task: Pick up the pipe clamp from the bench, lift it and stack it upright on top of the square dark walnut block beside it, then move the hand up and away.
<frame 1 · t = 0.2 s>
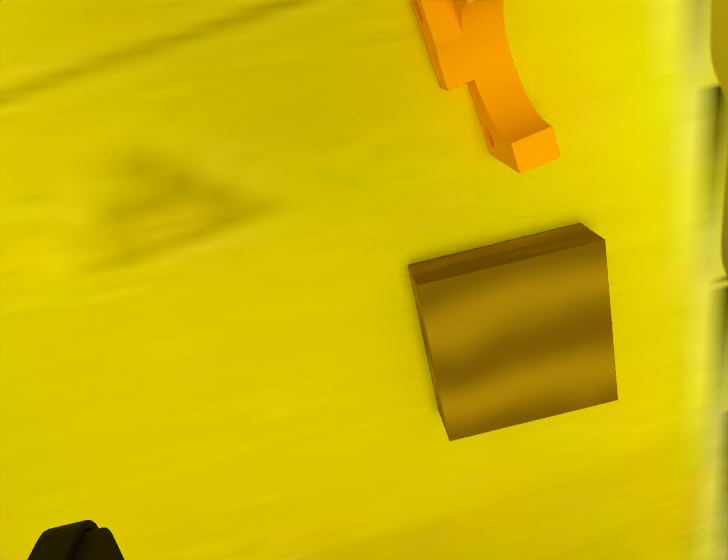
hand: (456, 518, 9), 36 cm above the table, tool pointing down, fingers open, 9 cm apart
walnut block: (506, 321, 48), on the table
pipe clamp: (467, 67, 42), on the table
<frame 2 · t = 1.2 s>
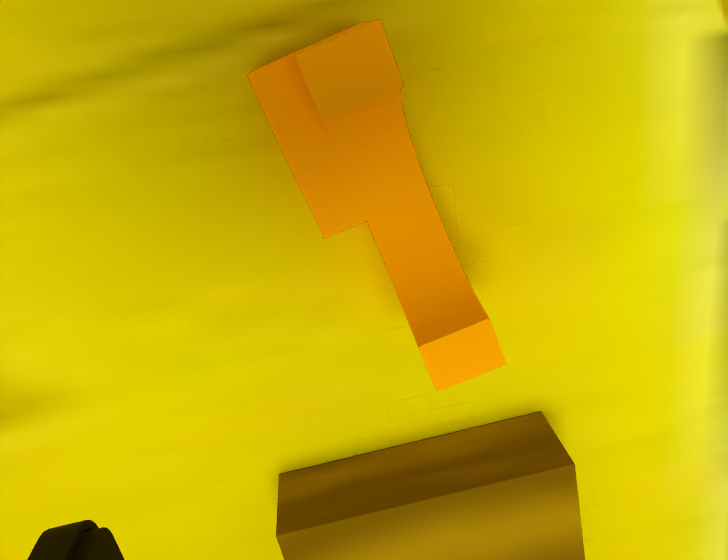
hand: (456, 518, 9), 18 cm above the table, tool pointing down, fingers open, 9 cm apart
walnut block: (433, 543, 33), on the table
pipe clamp: (365, 189, 26), on the table
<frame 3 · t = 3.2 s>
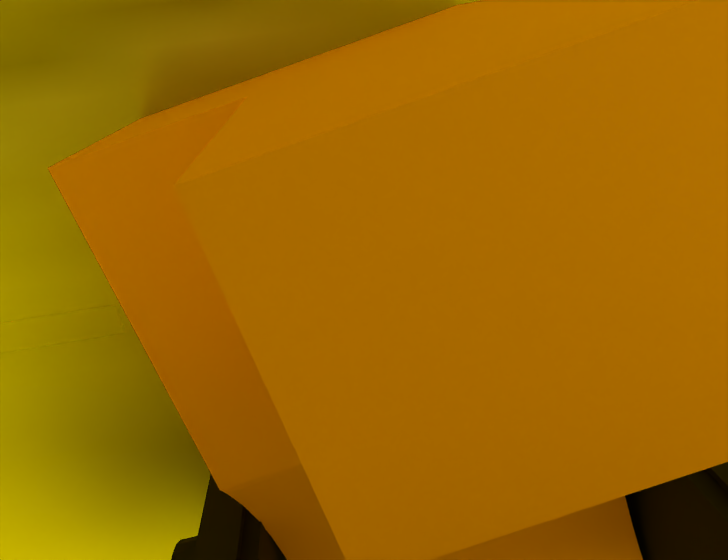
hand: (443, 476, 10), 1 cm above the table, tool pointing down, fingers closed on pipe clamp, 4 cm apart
pipe clamp: (424, 420, 11), on the table, touching gripper
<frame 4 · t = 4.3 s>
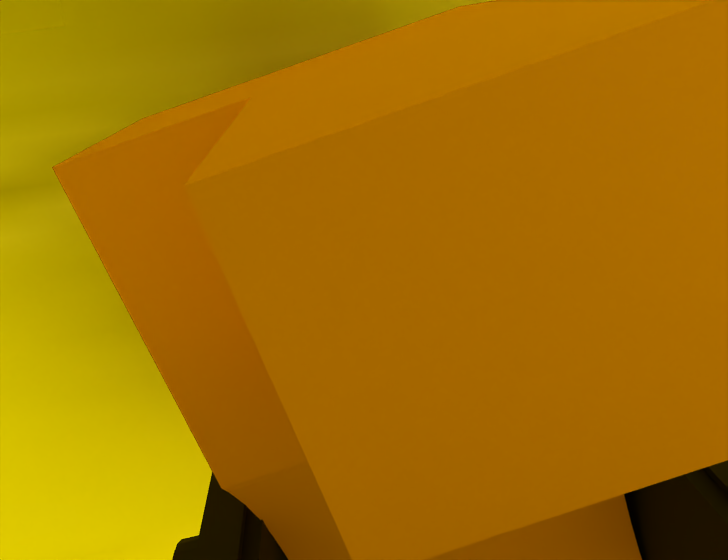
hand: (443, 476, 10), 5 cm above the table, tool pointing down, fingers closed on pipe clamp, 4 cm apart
pipe clamp: (424, 420, 11), point 4 cm above the table, touching gripper
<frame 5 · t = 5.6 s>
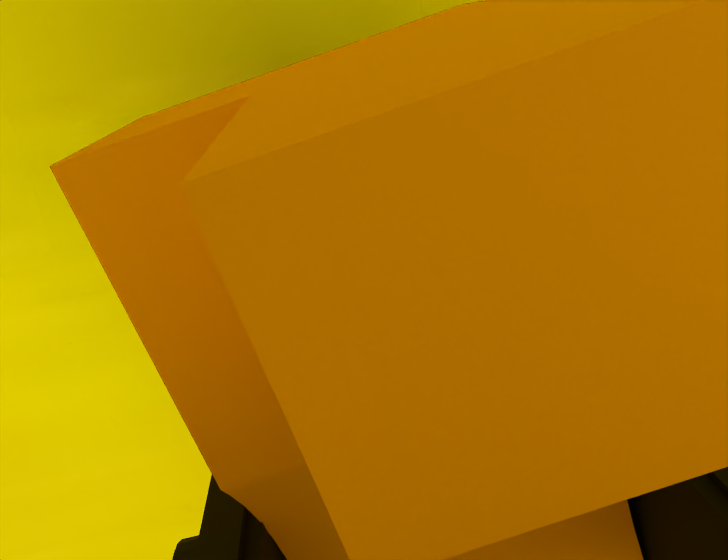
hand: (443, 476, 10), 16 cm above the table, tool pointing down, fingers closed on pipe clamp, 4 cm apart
pipe clamp: (425, 421, 11), point 15 cm above the table, touching gripper
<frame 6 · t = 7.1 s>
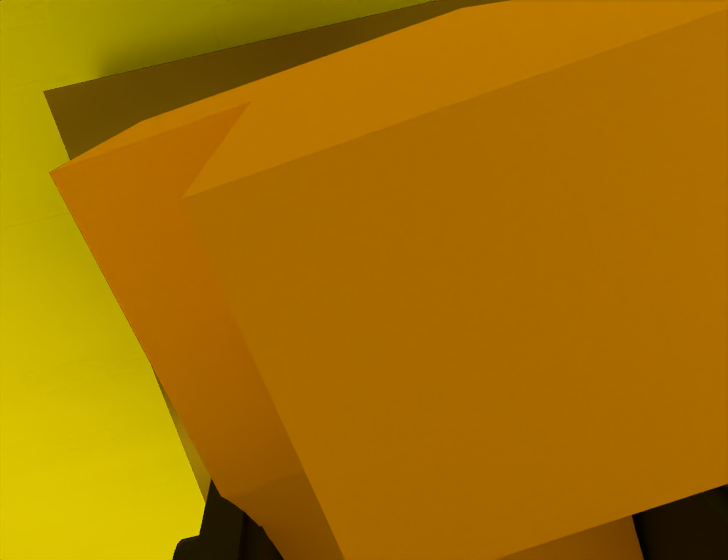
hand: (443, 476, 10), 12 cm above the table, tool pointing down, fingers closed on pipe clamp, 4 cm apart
walnut block: (366, 239, 20), on the table
pipe clamp: (425, 425, 10), point 11 cm above the table, touching gripper
when the fingers open (6 cm above the table, at t = 8.4 s): pipe clamp stays where it is, resting on walnut block.
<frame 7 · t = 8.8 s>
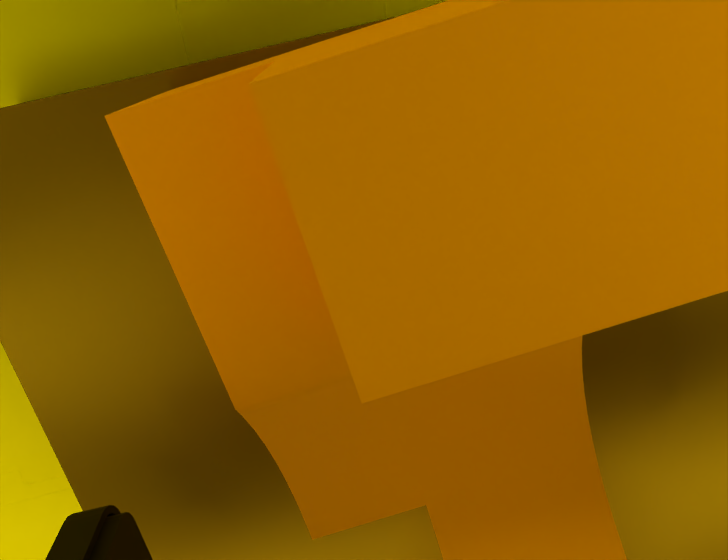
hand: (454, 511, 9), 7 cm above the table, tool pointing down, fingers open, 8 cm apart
walnut block: (391, 315, 15), on the table
pipe clamp: (415, 380, 11), point 4 cm above the table, touching walnut block
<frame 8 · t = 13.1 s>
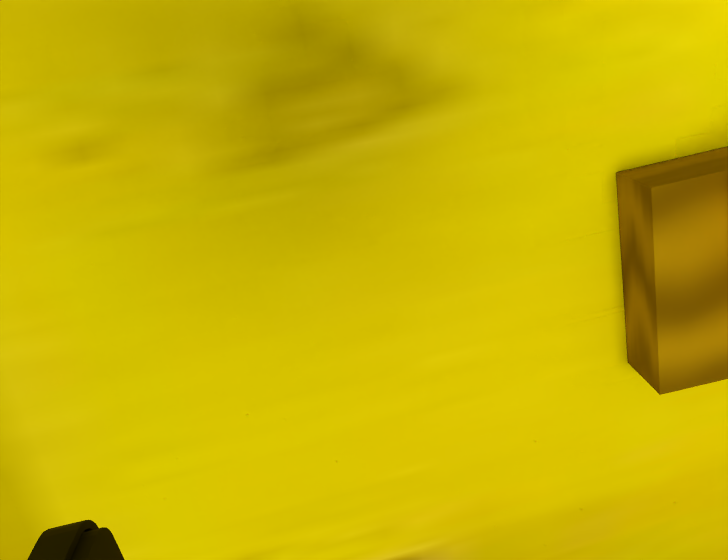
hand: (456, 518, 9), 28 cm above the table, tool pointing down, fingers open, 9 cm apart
walnut block: (723, 249, 39), on the table
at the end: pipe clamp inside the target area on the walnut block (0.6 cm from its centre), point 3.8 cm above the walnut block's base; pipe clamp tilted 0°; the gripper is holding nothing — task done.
